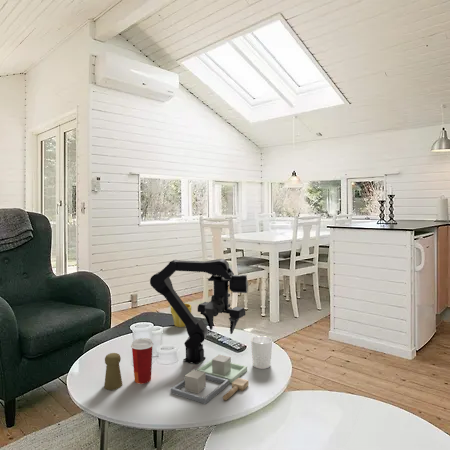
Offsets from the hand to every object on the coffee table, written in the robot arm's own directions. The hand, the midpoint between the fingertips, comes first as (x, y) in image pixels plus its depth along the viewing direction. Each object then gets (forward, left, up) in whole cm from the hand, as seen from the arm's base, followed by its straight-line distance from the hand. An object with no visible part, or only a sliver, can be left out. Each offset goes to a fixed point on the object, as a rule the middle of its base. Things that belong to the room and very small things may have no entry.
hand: (221, 331), depth 149 cm
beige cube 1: (+5, -8, -12) cm, 15 cm away
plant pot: (-40, +27, -12) cm, 50 cm away
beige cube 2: (+3, -22, -12) cm, 26 cm away
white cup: (+15, +5, -12) cm, 20 cm away
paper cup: (-16, -27, -12) cm, 34 cm away
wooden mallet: (+16, -18, -12) cm, 27 cm away
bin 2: (+5, -8, -12) cm, 15 cm away
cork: (-22, -35, -12) cm, 43 cm away
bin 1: (+5, -22, -12) cm, 25 cm away
